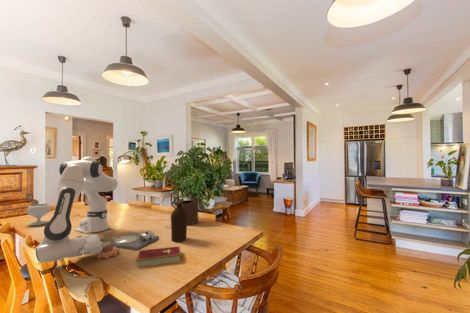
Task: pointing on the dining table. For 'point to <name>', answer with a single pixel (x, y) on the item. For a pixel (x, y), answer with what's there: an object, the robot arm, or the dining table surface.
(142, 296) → the dining table surface
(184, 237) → the olive oil
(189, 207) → the cup holder
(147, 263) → the hardcover book
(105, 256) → the gear
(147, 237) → the carrier plate
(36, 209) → the chalice
